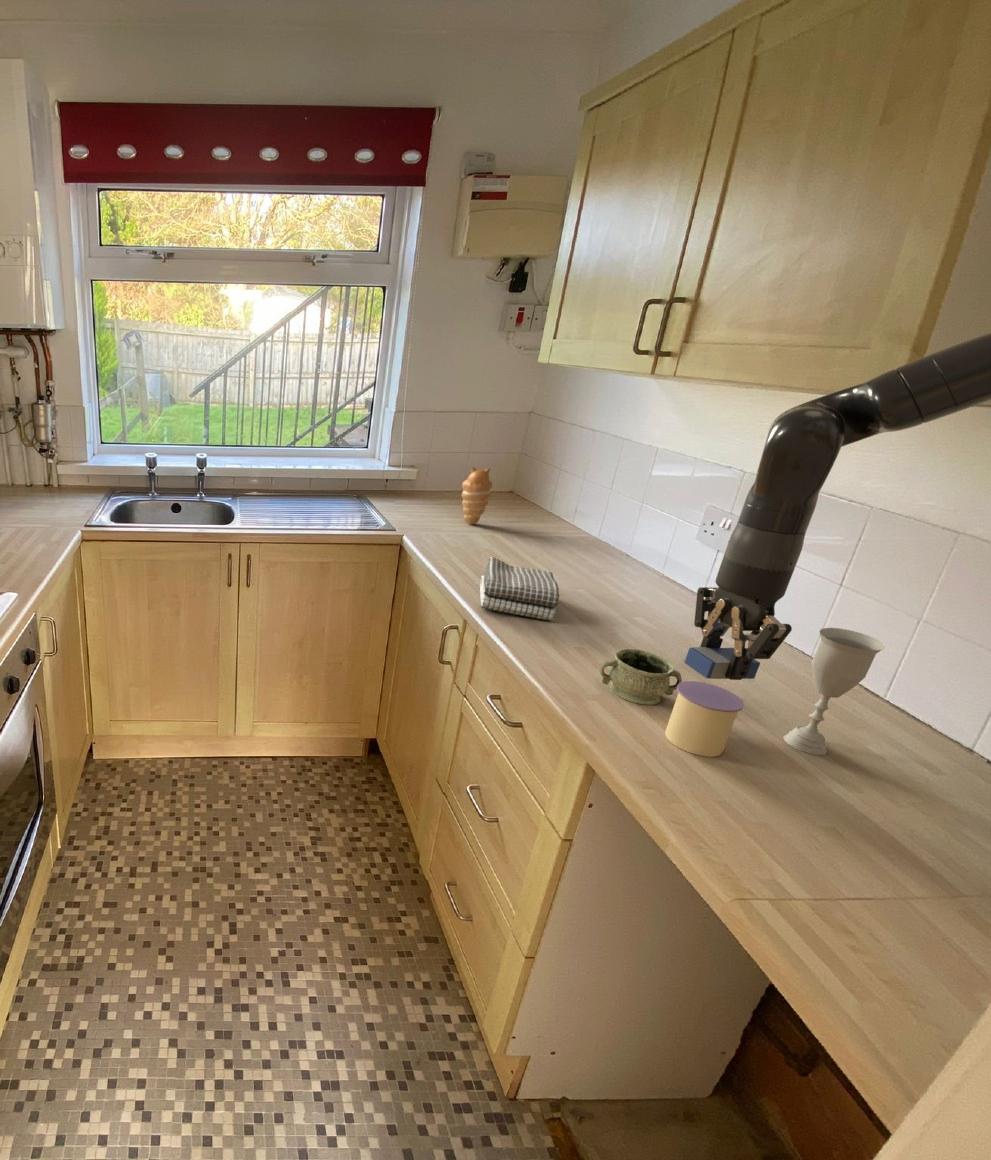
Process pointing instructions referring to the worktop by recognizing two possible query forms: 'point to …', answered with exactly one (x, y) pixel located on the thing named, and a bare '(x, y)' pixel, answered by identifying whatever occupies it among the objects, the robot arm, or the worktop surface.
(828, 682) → the chalice
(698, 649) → the block
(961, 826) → the worktop surface
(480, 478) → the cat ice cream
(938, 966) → the worktop surface
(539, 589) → the towel
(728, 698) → the yogurt pot
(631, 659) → the vessel
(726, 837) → the worktop surface
